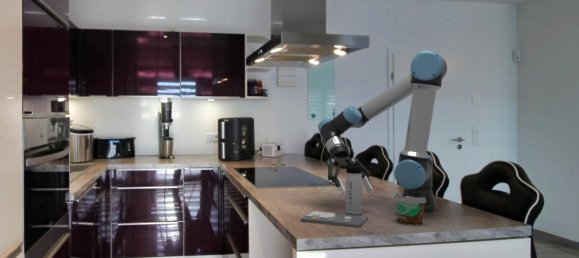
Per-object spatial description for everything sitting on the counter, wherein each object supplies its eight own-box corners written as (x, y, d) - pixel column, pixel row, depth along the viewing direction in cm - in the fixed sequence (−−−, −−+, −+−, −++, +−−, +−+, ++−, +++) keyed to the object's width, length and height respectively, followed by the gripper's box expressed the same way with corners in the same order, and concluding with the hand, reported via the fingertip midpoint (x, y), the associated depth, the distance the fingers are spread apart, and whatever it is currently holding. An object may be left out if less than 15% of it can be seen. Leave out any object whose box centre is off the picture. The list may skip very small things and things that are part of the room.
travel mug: (355, 212, 175) (356, 163, 175) (364, 216, 169) (365, 164, 168) (342, 213, 173) (342, 163, 172) (350, 217, 167) (351, 165, 166)
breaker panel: (368, 219, 164) (368, 212, 164) (359, 227, 151) (359, 220, 151) (313, 213, 172) (313, 207, 172) (300, 221, 159) (300, 214, 159)
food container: (387, 221, 160) (387, 194, 160) (396, 218, 165) (396, 192, 165) (417, 227, 152) (417, 199, 151) (425, 224, 156) (426, 197, 156)
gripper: (357, 155, 189) (378, 195, 176) (308, 156, 179) (326, 199, 166) (364, 143, 184) (386, 184, 171) (315, 144, 174) (334, 188, 161)
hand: (357, 192), depth 168 cm, fingers open, 12 cm apart
